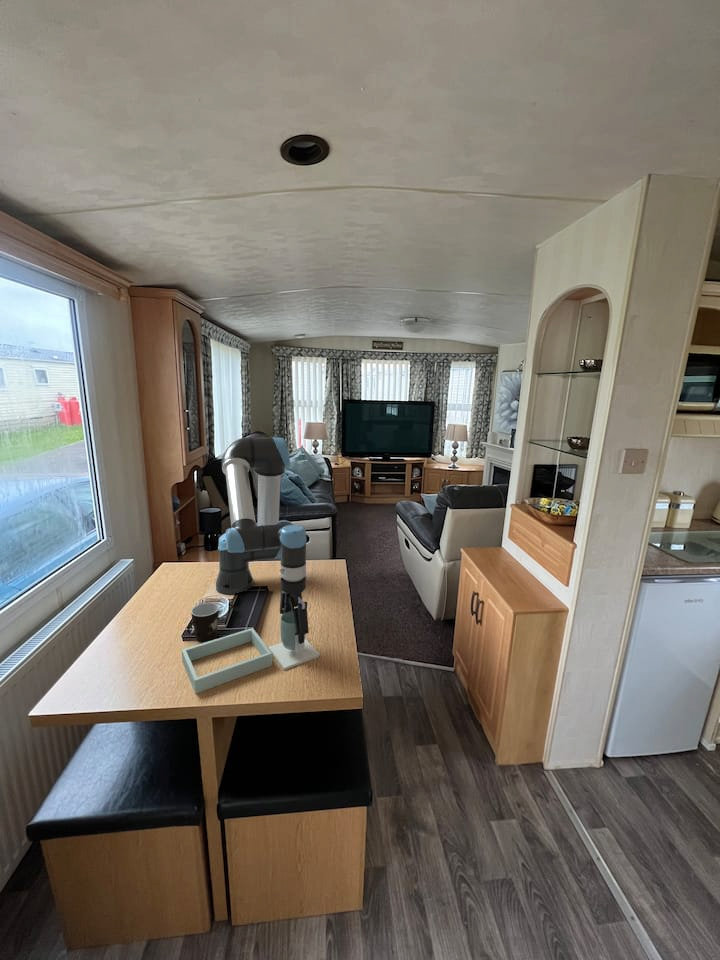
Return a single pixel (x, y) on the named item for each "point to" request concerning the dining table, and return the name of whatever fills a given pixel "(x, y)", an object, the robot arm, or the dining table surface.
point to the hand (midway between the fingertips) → (293, 643)
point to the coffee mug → (205, 621)
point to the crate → (230, 671)
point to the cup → (288, 630)
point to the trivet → (293, 655)
